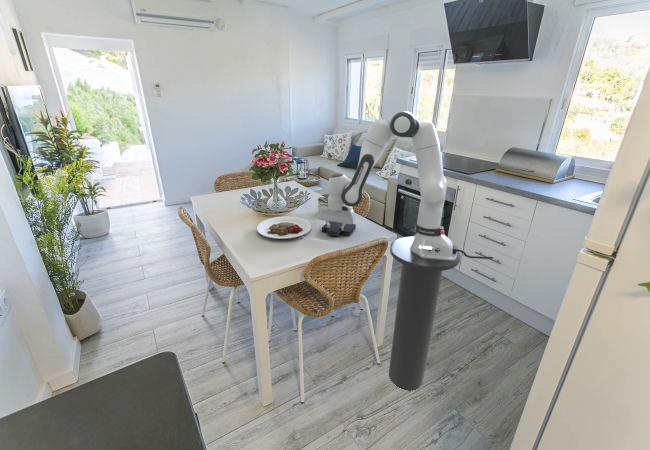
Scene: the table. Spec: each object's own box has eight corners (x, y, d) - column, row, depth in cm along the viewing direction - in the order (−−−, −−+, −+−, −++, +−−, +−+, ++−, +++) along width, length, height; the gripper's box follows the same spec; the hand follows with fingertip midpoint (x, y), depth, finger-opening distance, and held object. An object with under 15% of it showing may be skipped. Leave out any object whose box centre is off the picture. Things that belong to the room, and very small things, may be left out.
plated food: (259, 219, 188) (259, 214, 186) (310, 218, 190) (310, 213, 189) (254, 242, 160) (253, 236, 159) (312, 240, 163) (312, 234, 161)
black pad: (355, 228, 179) (355, 224, 178) (349, 236, 169) (349, 231, 168) (329, 224, 184) (329, 220, 183) (321, 231, 174) (321, 227, 173)
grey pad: (343, 229, 174) (343, 225, 173) (337, 236, 165) (337, 231, 164) (333, 227, 176) (333, 223, 175) (326, 234, 167) (326, 230, 166)
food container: (336, 216, 196) (337, 201, 192) (328, 218, 193) (329, 202, 189) (325, 210, 206) (325, 195, 202) (317, 212, 203) (317, 197, 199)
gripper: (315, 203, 165) (315, 228, 170) (352, 208, 159) (351, 234, 164) (320, 200, 171) (319, 224, 176) (356, 205, 164) (355, 229, 169)
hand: (335, 229), depth 170 cm, fingers closed on grey pad, 6 cm apart
